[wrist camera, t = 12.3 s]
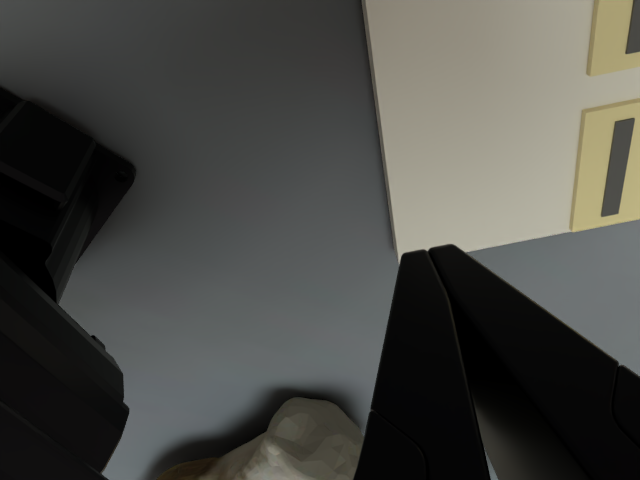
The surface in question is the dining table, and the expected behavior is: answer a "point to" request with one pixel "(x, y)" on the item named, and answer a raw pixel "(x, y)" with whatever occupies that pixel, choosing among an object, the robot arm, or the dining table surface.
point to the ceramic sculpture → (287, 448)
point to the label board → (505, 117)
